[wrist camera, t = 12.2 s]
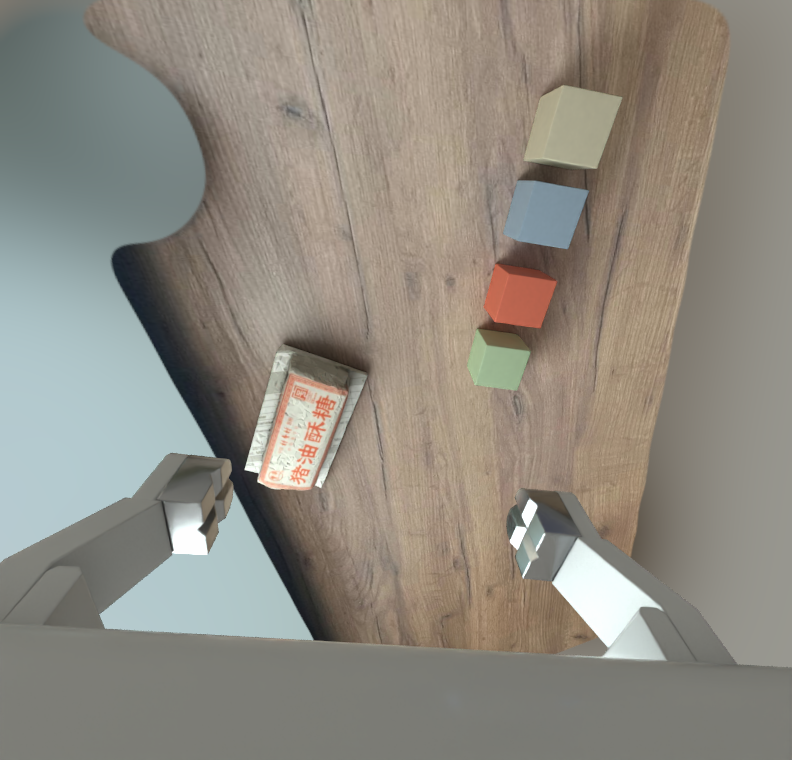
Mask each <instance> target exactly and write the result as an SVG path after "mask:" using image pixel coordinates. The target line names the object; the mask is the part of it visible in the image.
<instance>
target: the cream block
mask: <svg viewBox="0 0 792 760" xmlns="http://www.w3.org/2000/svg"><path fill="white" fill-rule="evenodd" d="M622 98H623V97H621V96H616V95H611V94H607V93H602V92H597V91H592V90H587V89H583V88H578V87H573V86H568V85H562V86H560V87H559V88H557V89H555V90H553V91H551V92H549V93H547V94H545V95H544V96H542V97H540V101H539V104H538V108H537V112H536V115H535V119H534V123H533V126H532V130H531V133H530V137H529V141H528V144H527V148H526V152H525V155H524V159H523V161H527V162H533V163H538V164H543V165H549V166H554V167H560V168H565V169H570V170H576V169H596V168H597V167H598V165H599V162H600V159H601V156H602V154H603V151H604V148H605V145H606V142H607V140H608V137H609V134H610V131H611V129H612V126H613V123H614V120H615V117H616V115H617V112H618V109H619V106H620V104H621V101H622Z"/></svg>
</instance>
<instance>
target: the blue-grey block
mask: <svg viewBox="0 0 792 760" xmlns="http://www.w3.org/2000/svg"><path fill="white" fill-rule="evenodd" d="M588 193H589V190H585V189H579V188H574V187H568V186H563V185H557V184H552V183H546V182H541V181H528V180H518V181H517V184H516V188H515V192H514V195H513V199H512V203H511V206H510V210H509V214H508V217H507V221H506V225H505V228H504V232H503V234H504V235H506V236H509V237H511V238H513V239H515V240H517V241H521V242H527V243H533V244H539V245H545V246H551V247H557V248H563V249H568V248H569V245H570V243H571V240H572V237H573V234H574V231H575V229H576V226H577V223H578V220H579V218H580V215H581V212H582V209H583V206H584V204H585V201H586V198H587V195H588Z"/></svg>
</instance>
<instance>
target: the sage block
mask: <svg viewBox="0 0 792 760" xmlns="http://www.w3.org/2000/svg"><path fill="white" fill-rule="evenodd" d="M530 353H531V350H530V349H529V348H528V347H527V346H526V344H525V343H524V342H523V341H522V340H521V338H520V337H519V336H518V335H517V334H512V333H505V332H498V331H491V330H484V329H477V331H476V334H475V338H474V341H473V345H472V349H471V352H470V356H469V360H468V363H467V367H468V369H469V372H470V374H471V376H472V379H473V381H474V384H475V385H478V386H486V387H494V388H502V389H509V390H518V387H519V384H520V381H521V378H522V376H523V373H524V370H525V367H526V364H527V362H528V359H529V356H530Z"/></svg>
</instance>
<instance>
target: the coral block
mask: <svg viewBox="0 0 792 760" xmlns="http://www.w3.org/2000/svg"><path fill="white" fill-rule="evenodd" d="M556 284H557V281H556V280H555V279H553V278H551V277H550V276H548V275H546V274H545V273H543V272H541V271H540V270H536V269H529V268H523V267H517V266H510V265H504V264H498V263H496V264H495V268H494V272H493V275H492V279H491V283H490V286H489V290H488V294H487V297H486V301H485V305H484V308H485V309H486V311H487V312H488V314H489V315H490V316H491V318H492V319H493V320H494V322H498V323H505V324H512V325H519V326H526V327H533V328H541V326H542V323H543V320H544V317H545V315H546V312H547V309H548V306H549V304H550V301H551V298H552V295H553V292H554V290H555V287H556Z"/></svg>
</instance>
